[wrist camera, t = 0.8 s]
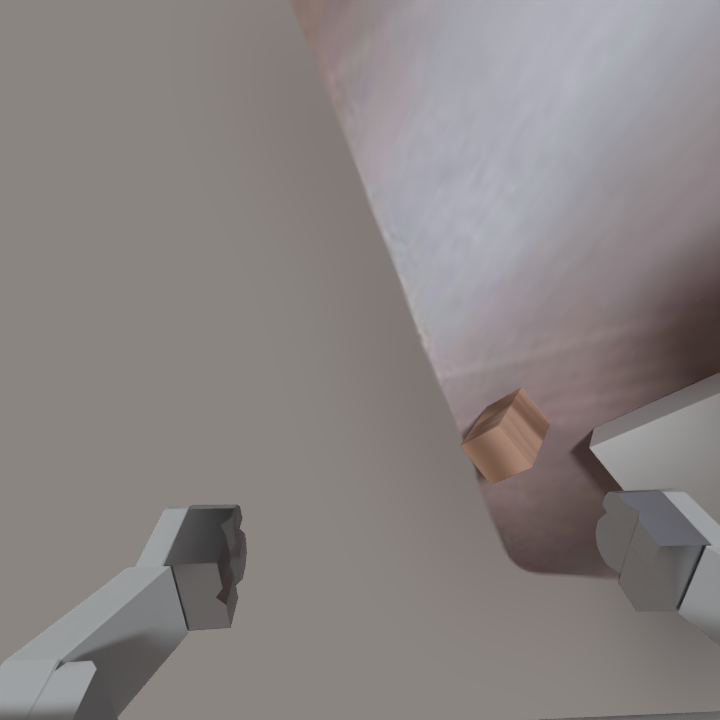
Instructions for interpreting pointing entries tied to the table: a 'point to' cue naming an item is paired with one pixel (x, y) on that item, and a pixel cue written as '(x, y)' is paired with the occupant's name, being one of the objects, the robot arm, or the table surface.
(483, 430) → the terracotta block
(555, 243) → the table surface
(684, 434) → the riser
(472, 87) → the table surface
